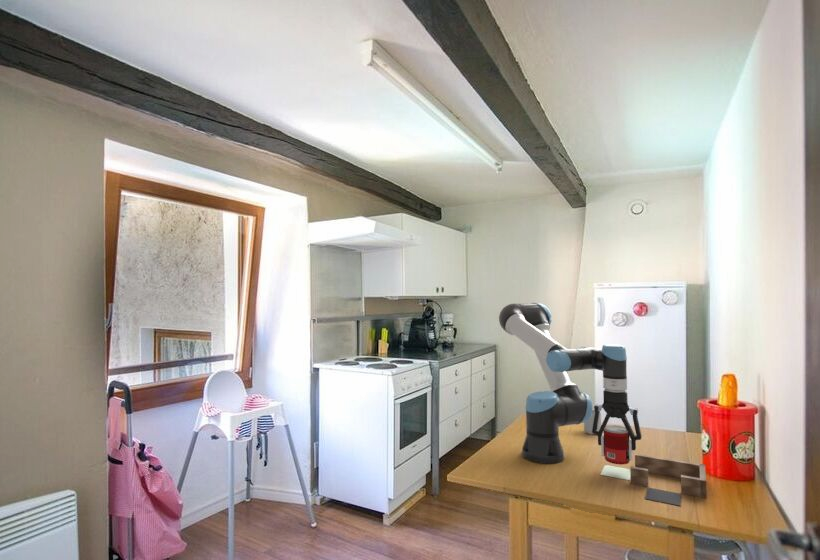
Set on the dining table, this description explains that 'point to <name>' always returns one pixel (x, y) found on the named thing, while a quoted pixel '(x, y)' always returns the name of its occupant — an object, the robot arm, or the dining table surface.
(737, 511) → the dining table surface
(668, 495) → the mat
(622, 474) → the pad
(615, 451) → the canned food
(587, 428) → the cup
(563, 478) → the dining table surface
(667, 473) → the wooden walled channel
